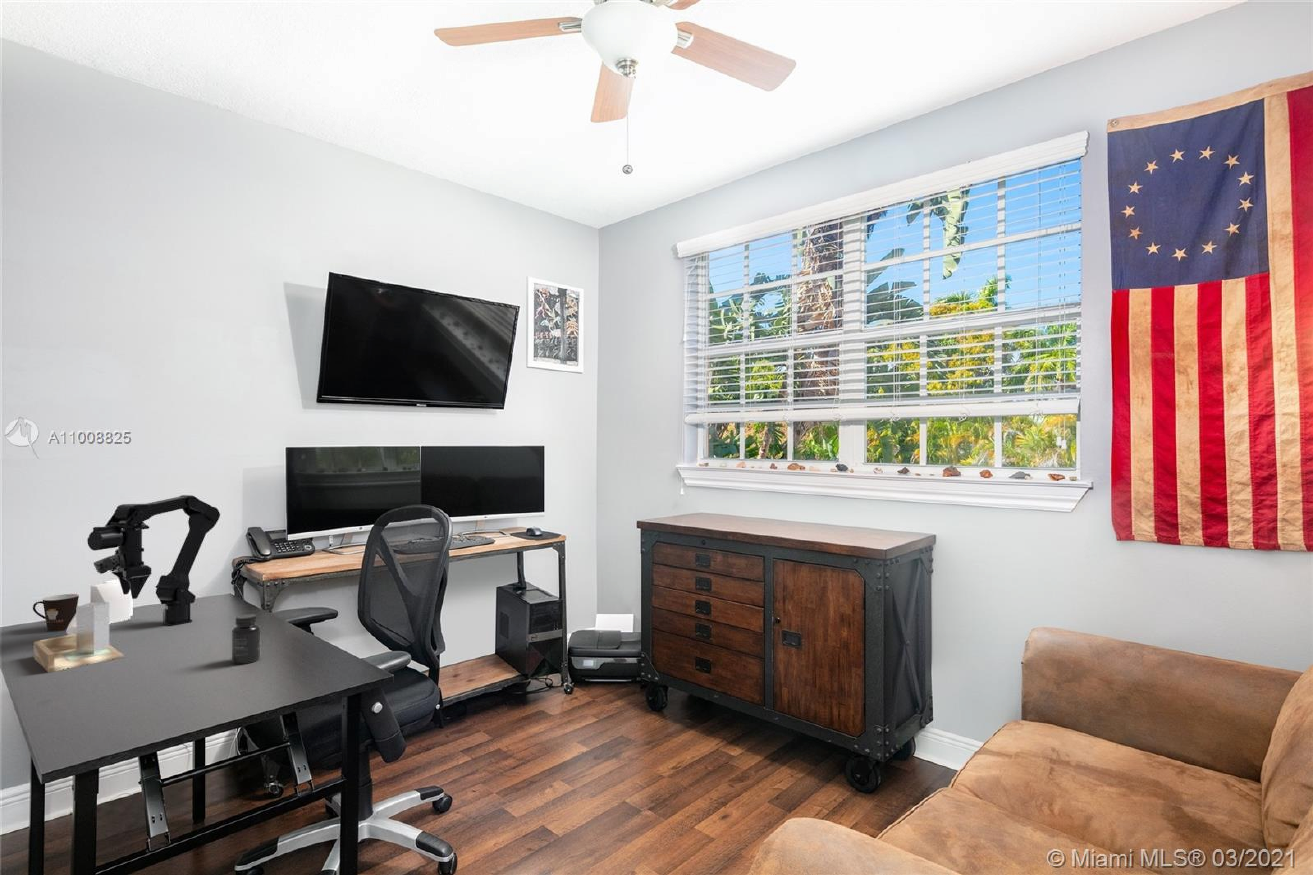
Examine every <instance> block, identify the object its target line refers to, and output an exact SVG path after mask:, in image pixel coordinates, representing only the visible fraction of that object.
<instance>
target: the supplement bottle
mask: <svg viewBox="0 0 1313 875" xmlns="http://www.w3.org/2000/svg"><path fill="white" fill-rule="evenodd" d="M257 622H258V621H257V614H254V613H253V614H251V613H250V614H241V615H238V616H236V617H235V623H234V624H235V627H233V629H232V630H231V636H230V638H231V647H230V648H231V655H230V656H231V663H232V664H233V665H234V664H235V665H243V664H251V663H253V662H257V661H259V660H260V658H261V657H262V656H261V654H262V651H261V650H262V649H261V648H262V644H261V643H262V641H261V640H262V638H261V635H262V632H261V631H262V630H261V626H260V625H259V624H257Z"/></svg>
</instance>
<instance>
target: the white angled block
mask: <svg viewBox="0 0 1313 875" xmlns="http://www.w3.org/2000/svg"><path fill="white" fill-rule="evenodd" d="M133 600H134V599H132V595H131V590H130V591H129V593H128V594H125V595H124V594H123V591H122V588H121V584H120V581H119V578H117V579H112V580H107V581H103V582H102V583H100V584H94V585H90V603H92V602H109V625H111V623H112V624H115V623H120V622H124V620H125V621H128V619H129V620H131V616H132V617H133V615H134V613H133V612H134V611H133V610H134V605H133V604H134V603H133V602H134V601H133Z"/></svg>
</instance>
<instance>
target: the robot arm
mask: <svg viewBox="0 0 1313 875" xmlns="http://www.w3.org/2000/svg"><path fill="white" fill-rule="evenodd" d="M177 510H182V511H183V513H184V514H185V515H187V516H188V520H187V523H188V533H187V534H186V537H185V539H184V542H183V544H182V546H181V547H180V548H181V549H180V551H179V553H178V555H177V558H176V560H175V562H174V565H173V566H172V569H171V570H170V572H169V573H168V574H166V575H165V574H164V575H163V574H162V575H160V577H159V579H158V583H157V584H156V585H155V586H154V587H155V588H156V590H155V595H156V597H157V598H158V599H159V603H160V604H161V605H164V609H163V610H162V623H164V624H165V625H168V626H174V625H181V624H185V623H187V624H188V623H190V622H193V619H191V604H194V603H195V602H196V598H197V597H196V594H194V593H193V592H192V591H190V590H189V589H190V577H189V575H190V572H191V570H192V567H193V565H194V564H195V560H196V559H197V555H198V554H199V551H200V548H202V547H201V546H202V544H203V542H204V540H205V537H206V535H207V534H208V533H209V532H210V531H211V530H213V529H214V527H215V526H216V525H217V523H218V521H219V519H220V517H221V512H220V510H219V509H218V508H217V507H215V506H212V505H210V504H209V503H207V502H205V501H202V500H200V499H199V498H197V497H196V496H195V495H191V494H189V495H188V494H184V495H183V494H182V495H180V496H176V497H172V498H166V499H162V500H157V501H153V502H148V503H122V504H119V505H117V507H116V509H115V510H114V513H113V515H112V516H111V518H110V519H109V520H108V521H107V522H106V524H105V525H104V526H93V528H92V531H91V532H90V533H89V535H88V537H87V539H86V540H87V546H88V547H89V549H90V550H92V551H103V550H107V549H108V550H109V549H115V548H117V549H115V551H114V554H113V555H109V556H107V557H106V556H105V557H104V558H102V559H101V558H100V559H99V560H97V561H94V562H93V565H94V567H95V568H94V569H95V570H96V571H97V573H99V574H100V575H102V574H105V573H107V572H108V571H110V572H111V574H112V575H114V576H115V577H117V579H119V581H120V584H121V588H122V591H123V594H124V595H125V594H128V593H129V591H130V590H131V595H132V599H133V600H137V599H138V597H139V595H140V593H141V592H142V590H143V588H144V586H145V584H146V582H147V580H148V579H149V578H150V576H151V575H152V567H151V566H149V565H146V564H145V561H143V553H144V552H145V548H144V547H143V530H147V529H150V526H149V525H148V524H146V523H145V522H146V521H148V520H150V519H151V518H152V517H154V516H157V515H161V514H166V513H170V512H174V511H177Z"/></svg>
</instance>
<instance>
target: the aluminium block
mask: <svg viewBox="0 0 1313 875" xmlns="http://www.w3.org/2000/svg"><path fill="white" fill-rule="evenodd" d="M109 645H110V624H109V602H92V603H91V602H88V603H85V604H81V605H77V607H76V654H95V653H98V652H100V651H103V650H106V649H109Z"/></svg>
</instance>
